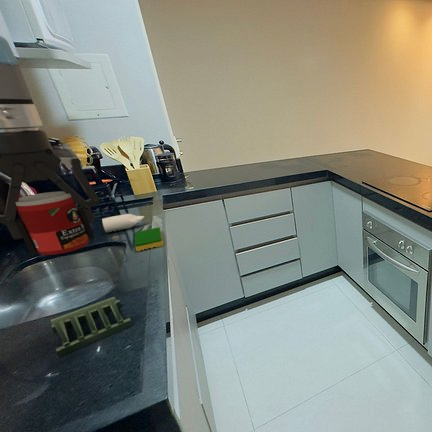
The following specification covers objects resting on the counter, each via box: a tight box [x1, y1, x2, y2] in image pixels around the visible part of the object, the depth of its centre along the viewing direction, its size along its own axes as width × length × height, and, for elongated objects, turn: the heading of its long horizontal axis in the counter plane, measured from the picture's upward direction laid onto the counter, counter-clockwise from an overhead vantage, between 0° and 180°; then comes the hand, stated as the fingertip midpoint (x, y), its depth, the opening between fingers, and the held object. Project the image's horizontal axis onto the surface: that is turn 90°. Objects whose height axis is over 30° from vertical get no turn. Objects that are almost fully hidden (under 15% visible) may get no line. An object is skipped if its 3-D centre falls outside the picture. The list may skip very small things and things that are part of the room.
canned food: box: [16, 191, 90, 256], centre depth 59 cm, size 8×8×11 cm
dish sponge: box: [134, 227, 164, 252], centre depth 102 cm, size 7×14×2 cm, turn 38°
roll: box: [101, 213, 145, 234], centre depth 112 cm, size 6×12×6 cm, turn 127°
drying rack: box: [50, 296, 133, 358], centre depth 61 cm, size 11×11×8 cm
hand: (63, 244), depth 61 cm, fingers closed on canned food, 8 cm apart
